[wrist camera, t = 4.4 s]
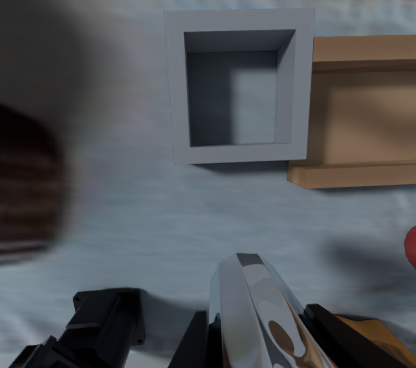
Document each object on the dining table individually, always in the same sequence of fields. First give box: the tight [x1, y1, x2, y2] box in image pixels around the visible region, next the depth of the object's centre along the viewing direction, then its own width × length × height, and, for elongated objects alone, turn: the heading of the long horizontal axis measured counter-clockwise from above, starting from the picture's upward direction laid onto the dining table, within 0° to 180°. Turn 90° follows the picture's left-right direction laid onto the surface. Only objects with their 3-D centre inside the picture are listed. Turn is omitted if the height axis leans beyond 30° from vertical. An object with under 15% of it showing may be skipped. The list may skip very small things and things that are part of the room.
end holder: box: [164, 8, 315, 165], centre depth 17 cm, size 10×10×4 cm
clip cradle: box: [287, 35, 416, 189], centre depth 17 cm, size 10×12×4 cm
